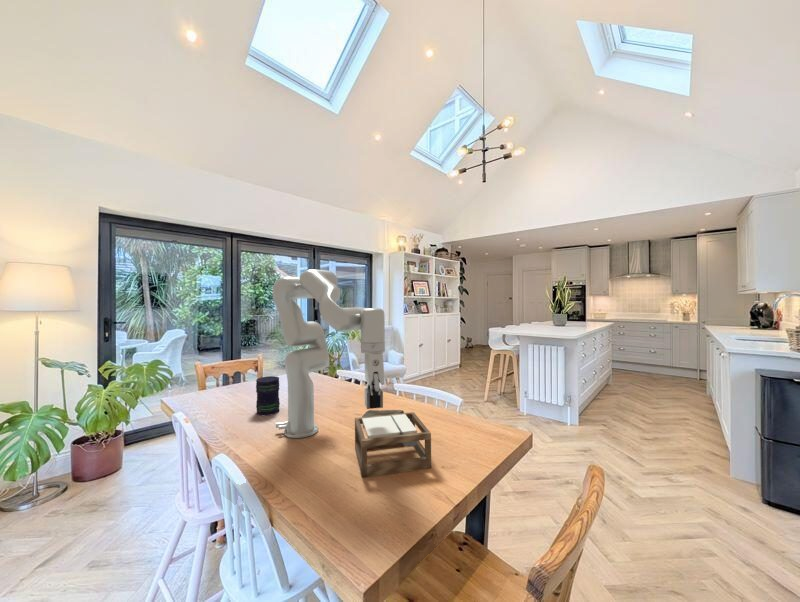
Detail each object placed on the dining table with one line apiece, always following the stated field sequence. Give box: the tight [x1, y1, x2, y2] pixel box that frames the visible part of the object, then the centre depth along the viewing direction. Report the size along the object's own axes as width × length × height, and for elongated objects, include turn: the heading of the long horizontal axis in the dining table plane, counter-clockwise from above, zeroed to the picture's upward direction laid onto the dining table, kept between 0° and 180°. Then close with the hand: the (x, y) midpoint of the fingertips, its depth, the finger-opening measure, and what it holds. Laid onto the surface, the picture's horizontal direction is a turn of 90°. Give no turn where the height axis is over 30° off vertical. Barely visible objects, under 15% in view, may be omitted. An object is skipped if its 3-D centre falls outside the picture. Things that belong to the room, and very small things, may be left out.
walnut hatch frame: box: [354, 411, 432, 479], centre depth 103 cm, size 21×18×10 cm
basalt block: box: [364, 387, 384, 410], centre depth 101 cm, size 5×5×5 cm
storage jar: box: [255, 375, 281, 416], centre depth 146 cm, size 10×10×15 cm
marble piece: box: [361, 409, 405, 417], centre depth 131 cm, size 17×15×4 cm
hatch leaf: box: [362, 414, 418, 448], centre depth 102 cm, size 15×15×5 cm
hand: (373, 404), depth 101 cm, fingers closed on basalt block, 5 cm apart
